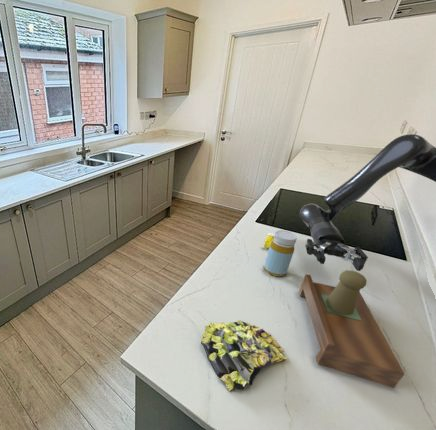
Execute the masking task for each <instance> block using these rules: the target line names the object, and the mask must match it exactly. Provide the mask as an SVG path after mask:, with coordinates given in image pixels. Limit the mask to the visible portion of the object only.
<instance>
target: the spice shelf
mask: <svg viewBox="0 0 436 430" xmlns="http://www.w3.org/2000/svg"><path fill="white" fill-rule="evenodd" d="M335 287H336V286H334V285H333V286H332V285H328V284H324V283H320V282H314V281H313V279H312V275H311V274H308V273H305V275H304V277H303V280H302V282H301V285H300V288H299V291H298V294H299V297H301V298H305V300H306V305H307V308H308V310H309V315H310V318H311V321H312V325H313V328H314V332H315V336H316V338H317V342H318V345H319V350H318V352H317V354H316V356H315V360H316V362H317V365H319V366H323V367H326V368H329V369H332V370H336V371H339V372H341V373H345V374H348V375H352V376H355V377H358V378H362V379H365V380H368V381H371V382H375V383H377V384H381V385H383V386H387V387H390V388H395V387H396V386H397V385H398V383H399V382H400V380H401V379H402V378H403V377H404V375H405V374H406V373H405V372H404V370H403V367H402V365H401V364H400V362H399V360H398V359H397V357H396V355H395V353H394V352H393V350H392V348H391V346H390V344H389V342H388V341H387V339H386V337H385V335H384V333H383V331H382V330H381V328H380V326H379V324H378V322H377V321H376V319H375V317H374V315H373V313H372V311H371V309H370V308H369V306H368V304H367V303H366V301H365V299H364V297H363V295H362V294H361V292H359V295H358V299H357V302H356V306H355V309H354V313H352V314H350V315H346V314H341V313H339V312H336V311H334V310H333V309H331V308H330V307H329V306H328V305H327V303H326V300H327V298H328V297H329V295H330V294H331V293H332V291H333V290H334V289H335Z"/></svg>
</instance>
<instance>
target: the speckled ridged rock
mask: <svg viewBox="0 0 436 430" xmlns="http://www.w3.org/2000/svg"><path fill="white" fill-rule="evenodd" d="M204 327H205V331H204V332H203V334H202V338H201V341H200V344H201V345H202V346H203V349H204V351H205V354H206V358H207V361H208V362H209V363H210V365H211V366H212V369H213V371H214V373H215V375H216V376H217V377H218V378H219V380H221V382H223V383H224V384H225V386H226V389H227V391H229V392H231V391H233V389H234V388H236V389H238V390H244V389H245V387H246V385H249V386H253V382H254V380H255V378H256V376H257V375H258V374H259V372H260V371H261V370H262V369H264V368H266V367H268V366H270V365H272V364H274V363H278V362H282V361H283V362H284V361H286V360H288V357H287V356H286V355H285V354H284V353H283V352H284V349H283V348H282V347H281V346H280V345H279V343H278V342H277V340H276V339H275V338H274V337H273V336H272V333H269V332H267V331H266V330H265V329H264V328H263V327H259V326H257V325H255V324H254V325H253V324H251V323H249V322H245V321H243V320H237V321H234V322H227V323H226V322H219V323H218V322H215V323H214V322H210V323H209V324H208V325H204Z"/></svg>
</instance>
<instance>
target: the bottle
mask: <svg viewBox="0 0 436 430" xmlns="http://www.w3.org/2000/svg"><path fill="white" fill-rule="evenodd" d="M274 234H275V235H274V239H273V241H272V242H271V244H270V247H269V248H268V251H267V254H266V258H265V261H264V264H263V268H264V270H265V272H266V273H268V274H269V275H271V276H274V277H283V276H285V275H287V272H288V269H289V267H290V264H291V261H292V258H293V256H294V253H295V244H296V242H297V239H298V237H297V235H296V234H295V233H294V232H292V231H289V230H284V229H280V230H276V231H275V232H274Z"/></svg>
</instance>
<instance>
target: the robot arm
mask: <svg viewBox="0 0 436 430" xmlns="http://www.w3.org/2000/svg"><path fill="white" fill-rule="evenodd" d="M397 168H400V169H403V170H406V171H408V172H412V173H414V174H417V175H420V176H422V177H424V178H427V179H429V180H431V181H433V182H435V183H436V146H435V145H433V144H432V143H430V142H429V141H428V140H427V139H425V137H423V136H421V135H419V134H415V133H413V134H412V133H407V134H403V135H400V136H397V137H396V138H394V139H393V140H391V141H390V142H388V144H386V145H385V146H384V147H383V148H382V149H381V150H380V151H379V152H378V153H377V154H376V155H375V156H374V157H372V159H370V161H368V162H367V164H365V165H364V166H363V167H361V169H360V170H358V172H356V173H355V174H354V175H353V176H351V177H350V178H349V179H348V180H347V181H344V183H342V184H341V185H340V186H338V187H337V188H335V189H334V190H333V191H331V192H330V193H328V194H327V195H326V196H325V197H324V199H323V201H324V203H325V204H326V205H327V207H328V209H327V210H325V209H323V208H322V207H321V206H319V205H318V204H316V203H308V204H304V205H303V206H302V207H301V208H300V210H299V214H298V215H299V217H300V220H301V221H302V222H303V223H304V224H305V225H306V227H308V229H309V232H310V235H311V238H312V239H311V238H307V239H306V241H305V245H304V246H305V247H304V248H305V251H306V254H307V255H309V256H312V255H313V256H314V257H315V258H316V260H317V262H318V263H319V264H321V265H324V264H325V262H326V261H327V260H326V259H327V257H326V256H325V255H327V256H333V257H339V258H340V259H342V260H343V261H346V262H347V261H348V262H350V263H352V265H353V267H354V269H355V271H356V272H361V271H363V269H364V267H365V264H366V262H367V261H368V258H369V257H368V256H367V254H366V253H365V252H364V250H363V249H362V248H361V247H360V246H355V247H354V248H353V247H349V246H348V245H347V244H346V241H345V239H344V236H342V234H341V232H340V231H339V229H338V227H336V226H335V225H334V223H333V221H334V220H335V219H336V218H337V217H338V215H340V213H341V212H343V211H344V210H345V209H346V208H347V207H350V206H351V205H353V204H354V203H355V202H357V201H359V200H360V199H361V198H362V197H363V196H364V195H366V194H367V193H368V191H369V190H370V189H371V188H372V187H373V186H374V185H375V184H376V183H377V182H379V181H380V179H382V178H383V177H384V176H386V175H387V174H389V173H390V172H393V171H394V170H396V169H397ZM352 257H353V258H352Z"/></svg>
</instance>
